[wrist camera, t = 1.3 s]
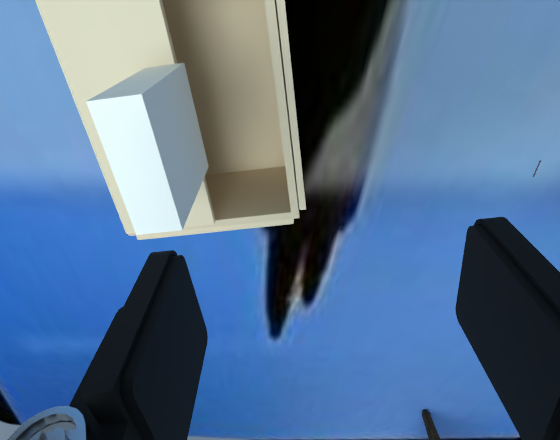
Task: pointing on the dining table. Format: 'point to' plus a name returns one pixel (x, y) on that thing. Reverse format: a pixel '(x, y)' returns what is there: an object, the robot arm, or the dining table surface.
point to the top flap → (134, 109)
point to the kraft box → (241, 109)
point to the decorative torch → (430, 426)
